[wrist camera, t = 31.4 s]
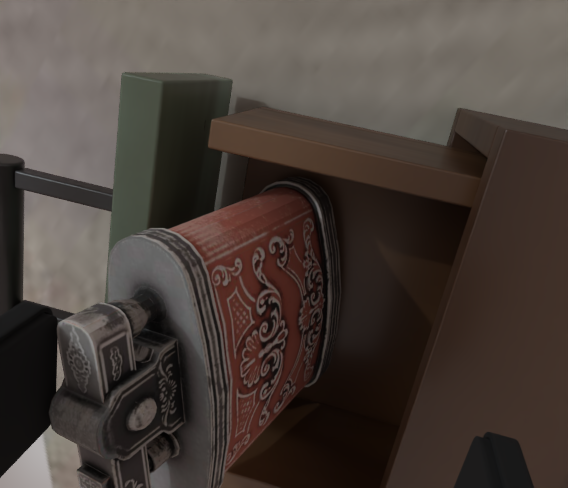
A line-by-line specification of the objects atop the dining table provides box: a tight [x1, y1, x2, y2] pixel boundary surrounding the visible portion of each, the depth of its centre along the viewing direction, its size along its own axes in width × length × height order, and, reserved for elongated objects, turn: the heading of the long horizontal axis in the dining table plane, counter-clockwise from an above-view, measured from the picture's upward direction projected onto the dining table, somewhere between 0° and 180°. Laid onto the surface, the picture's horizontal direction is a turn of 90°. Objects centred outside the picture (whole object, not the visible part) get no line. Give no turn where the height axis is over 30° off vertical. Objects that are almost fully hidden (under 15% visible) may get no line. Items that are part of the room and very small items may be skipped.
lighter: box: [49, 177, 341, 488], centre depth 15 cm, size 8×3×10 cm, turn 1°
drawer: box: [0, 72, 488, 488], centre depth 18 cm, size 20×13×6 cm, turn 79°
